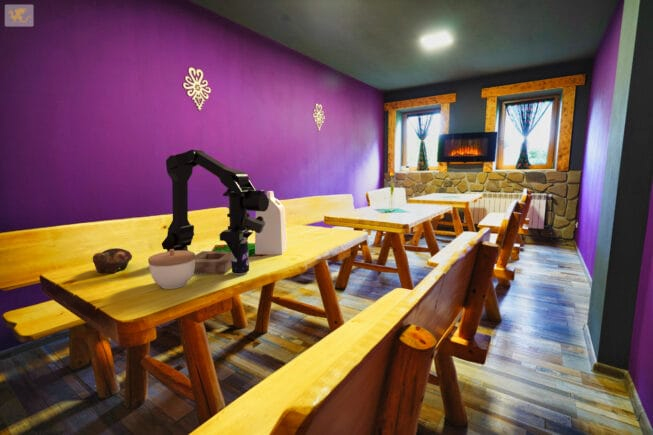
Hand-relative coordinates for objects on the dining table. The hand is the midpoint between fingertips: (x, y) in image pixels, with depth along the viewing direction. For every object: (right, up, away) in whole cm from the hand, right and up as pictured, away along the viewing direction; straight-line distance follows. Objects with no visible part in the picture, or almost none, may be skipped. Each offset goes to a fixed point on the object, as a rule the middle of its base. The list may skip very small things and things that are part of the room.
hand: (239, 255), depth 101 cm
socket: (-12, -5, +7) cm, 15 cm away
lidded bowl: (-17, -8, -10) cm, 21 cm away
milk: (+5, -2, +30) cm, 31 cm away
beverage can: (0, -6, +1) cm, 6 cm away
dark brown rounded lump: (-45, -6, +4) cm, 45 cm away
